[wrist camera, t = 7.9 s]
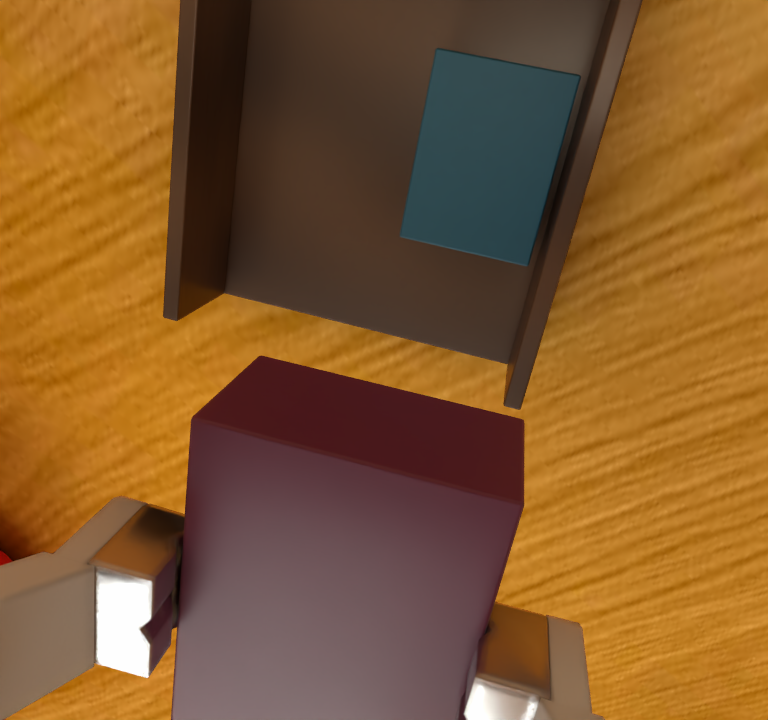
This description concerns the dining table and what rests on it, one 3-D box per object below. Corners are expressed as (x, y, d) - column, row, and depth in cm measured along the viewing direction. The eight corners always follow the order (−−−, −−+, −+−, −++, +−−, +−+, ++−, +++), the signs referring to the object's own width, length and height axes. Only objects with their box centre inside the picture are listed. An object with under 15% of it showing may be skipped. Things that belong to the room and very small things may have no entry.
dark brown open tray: (276, -381, 20) (131, -655, 13) (724, -332, 18) (846, -616, 11) (217, 286, 28) (110, 347, 21) (522, 362, 26) (518, 456, 19)
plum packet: (259, 354, 11) (190, 417, 9) (525, 418, 10) (525, 503, 8) (230, 624, 13) (169, 730, 11) (447, 689, 13) (430, 815, 10)
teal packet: (445, 53, 23) (435, 47, 20) (576, 78, 22) (581, 75, 20) (411, 225, 25) (398, 237, 23) (528, 252, 24) (528, 267, 22)
